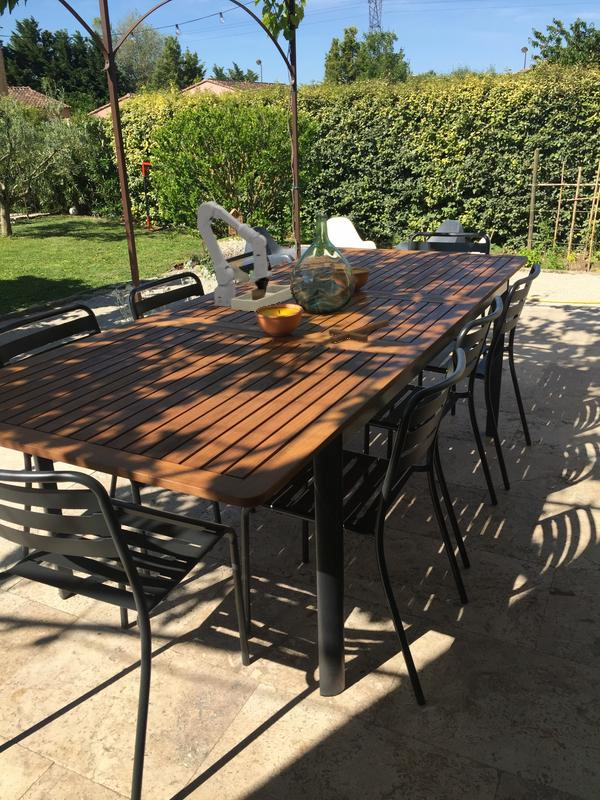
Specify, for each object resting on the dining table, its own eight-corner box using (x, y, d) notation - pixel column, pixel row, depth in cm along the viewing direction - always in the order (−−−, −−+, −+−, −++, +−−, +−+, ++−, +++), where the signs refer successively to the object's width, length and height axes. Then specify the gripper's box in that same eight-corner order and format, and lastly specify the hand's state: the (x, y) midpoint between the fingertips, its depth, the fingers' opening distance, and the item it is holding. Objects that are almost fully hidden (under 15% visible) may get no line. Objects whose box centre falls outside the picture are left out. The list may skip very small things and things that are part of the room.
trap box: (256, 312, 268) (256, 301, 266) (231, 309, 274) (230, 299, 273) (295, 296, 294) (295, 286, 292) (271, 294, 300) (271, 284, 298)
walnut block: (260, 300, 277) (259, 291, 275) (252, 300, 279) (251, 290, 277) (265, 298, 280) (264, 289, 278) (257, 297, 282) (256, 288, 280)
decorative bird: (279, 269, 325) (265, 250, 313) (278, 284, 320) (263, 266, 308) (238, 281, 334) (223, 263, 323) (236, 296, 329) (221, 279, 318)
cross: (404, 322, 234) (350, 341, 214) (404, 328, 234) (350, 348, 215) (369, 316, 244) (315, 334, 225) (369, 322, 245) (315, 340, 226)
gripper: (258, 267, 269) (261, 299, 274) (277, 261, 281) (279, 292, 286) (245, 266, 272) (247, 298, 277) (263, 261, 284) (265, 291, 289)
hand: (262, 295), depth 282 cm, fingers closed
